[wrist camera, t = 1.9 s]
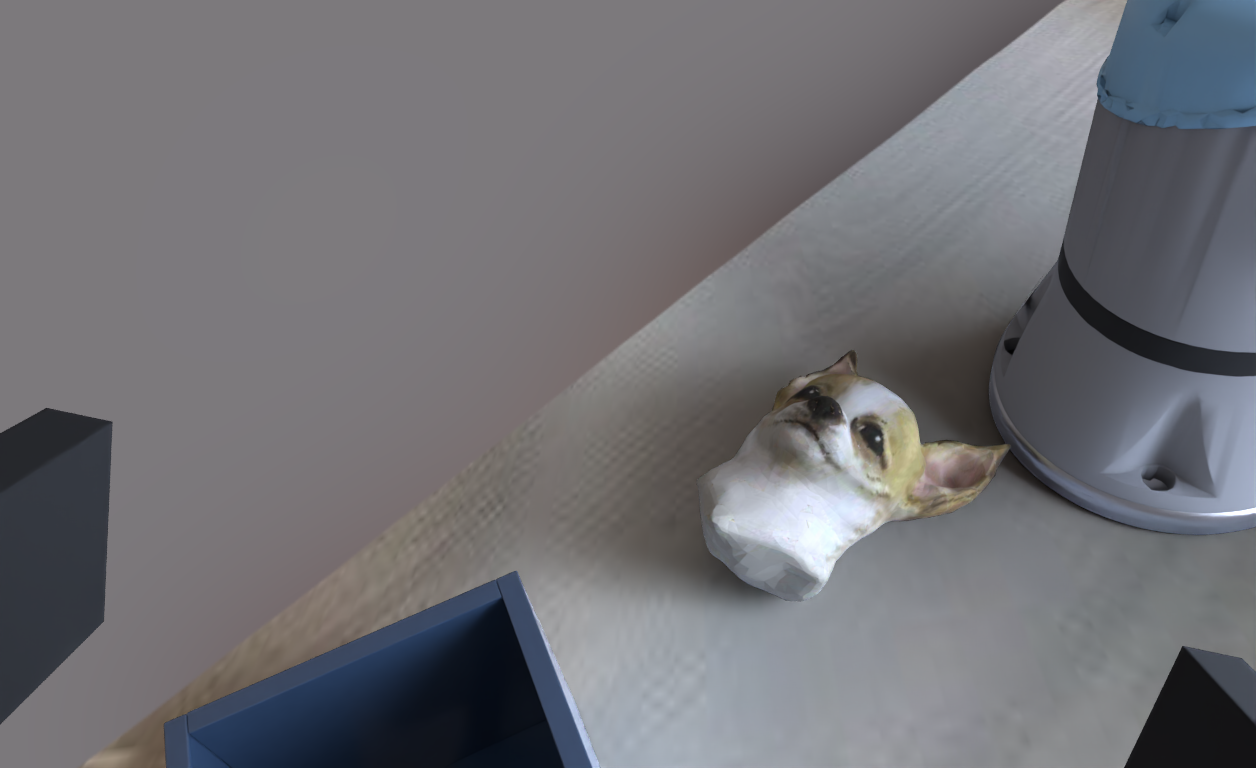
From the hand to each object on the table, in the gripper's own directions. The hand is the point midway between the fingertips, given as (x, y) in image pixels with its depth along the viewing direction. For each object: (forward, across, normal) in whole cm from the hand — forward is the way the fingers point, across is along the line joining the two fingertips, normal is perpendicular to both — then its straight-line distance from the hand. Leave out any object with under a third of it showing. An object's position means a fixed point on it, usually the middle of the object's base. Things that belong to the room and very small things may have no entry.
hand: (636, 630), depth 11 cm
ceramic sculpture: (+32, +12, -12) cm, 36 cm away
